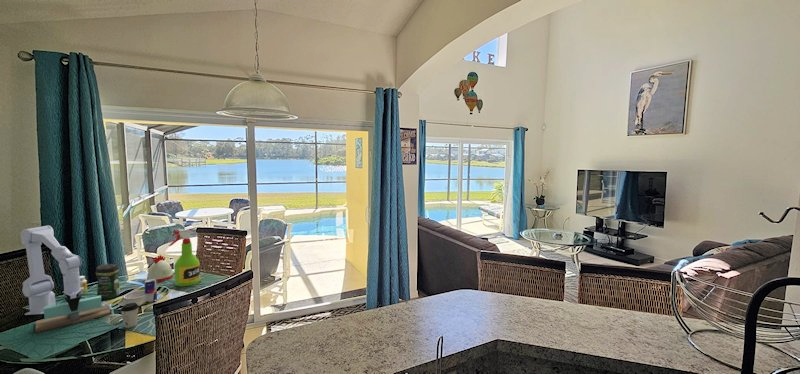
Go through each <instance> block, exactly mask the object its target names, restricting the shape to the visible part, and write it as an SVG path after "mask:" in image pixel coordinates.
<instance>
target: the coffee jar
mask: <svg viewBox="0 0 800 374" xmlns="http://www.w3.org/2000/svg"><path fill="white" fill-rule="evenodd" d="M119 271H120V269H119V265H118V264H116V263H114V264H113V263H112V264H111V263H110V264H109V263H108V264H99V265H97V267H96V268H95V275H96V278H97V289H96V292H97V293H96V296H100V295H101V300H102V299H113V298H115V297H118V296H119V295H121V289H120V282H119Z"/></svg>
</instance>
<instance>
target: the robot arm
mask: <svg viewBox="0 0 800 374" xmlns="http://www.w3.org/2000/svg"><path fill="white" fill-rule="evenodd" d="M54 235H55V232H54V228H53V227H52V226H51V225H48V224H47V225H43V226H37V227H30V228H24V229H23V230H21V232H20V240H21V241H20V242H21V245H23V246H25V250H26V257H27V265H28V271H29V277H28V278H27V279H25V280H24V281H23V282H22V290H21V291H22V294H23V295H24V297H26V298H28V304H29V311H28V312H26V313H24V316H30V315H31V316H32V315H44V307H45V306H50V305H55V304H57V302H56V293H54V292H53V289H54V287H55V283H54V281H53V279H52V276H50V275H48V274H45V267H44V260H43V254H42V247H41V245H42V244H44V245H45V246H46V247H47V248H49V249H50V250H51V253H50V254H51V255H52V257H53V258H54V259H55V260H56V261H57V262H58V267H59V270H60V273H61V274H62V278H63V279H62V282H63V294H64V295H65V298H64V300H65V301H66V302H67V303H68V304H69V307H70V310H71V311H76V310H77V309H78V304H79V301H80V299H82V295H78V294H79V292H80V291H81V290H84V287H82V288H80V276H81V275H80V267H82V265H83V260H82V258H81V256H80V255H79V254H78V255H76V253H75V254H73V253H72V251H70V249H68V248H67V247H66V246H65V245H64V246H63V245H61V244H60V243H59V241H58V240H57V239H56V236H54Z"/></svg>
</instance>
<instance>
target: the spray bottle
mask: <svg viewBox="0 0 800 374" xmlns="http://www.w3.org/2000/svg"><path fill="white" fill-rule="evenodd" d="M191 234H194V232H193V231H191V230H189V229H176V230H173V235H176V238H174V239H173V241H172V242H170V244H169V245H168V247H171V246H174V244H175V243H177V242H178V241H180V240H181V239H182V243H181V255H180V256H179V257H178V259H176V261H175V262H174V265H173V268H174V269H173V271H174V285H175V286H177V287H190V286H193V285H196V284H198V283H200V282H201V266H200V265H201V264H200V260H199V258H198V257H196V256H195V255H194V254H193V246H192V241H191Z"/></svg>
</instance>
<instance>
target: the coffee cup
mask: <svg viewBox="0 0 800 374" xmlns="http://www.w3.org/2000/svg"><path fill="white" fill-rule="evenodd" d="M139 308H140V305H139V304H138V303H137V302H129V303H125V304H124V305H123V306H122V307H121V308H120V309H119V310H120V312H121V317H122V322H123V325H124V328H127V329H129V328H133V327H136V325H138V318H139V317H138V316H139Z"/></svg>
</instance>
